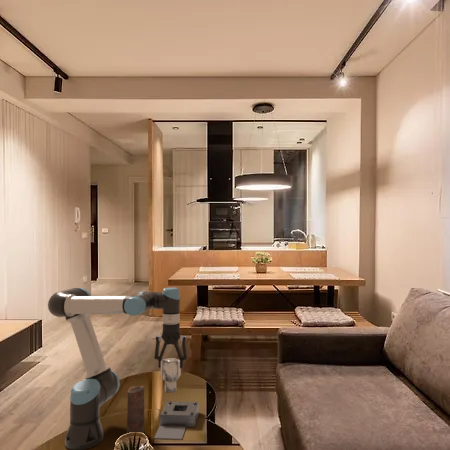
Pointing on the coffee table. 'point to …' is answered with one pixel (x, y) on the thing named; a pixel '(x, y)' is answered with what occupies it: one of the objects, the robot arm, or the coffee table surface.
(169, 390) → the silver stepped plug
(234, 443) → the coffee table surface
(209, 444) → the coffee table surface
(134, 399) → the candle
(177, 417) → the housing
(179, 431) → the mat
